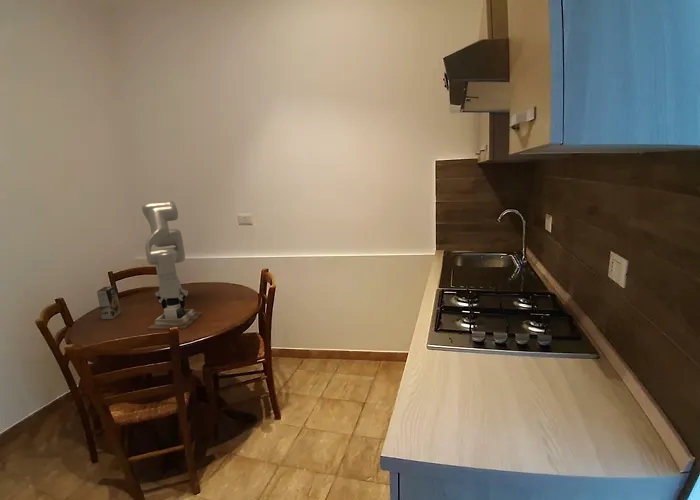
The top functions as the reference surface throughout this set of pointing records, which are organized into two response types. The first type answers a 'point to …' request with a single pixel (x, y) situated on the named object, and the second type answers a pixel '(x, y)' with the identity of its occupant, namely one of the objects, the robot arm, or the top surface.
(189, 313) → the collar board
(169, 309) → the medicine bottle
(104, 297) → the coffee box
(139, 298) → the top surface
